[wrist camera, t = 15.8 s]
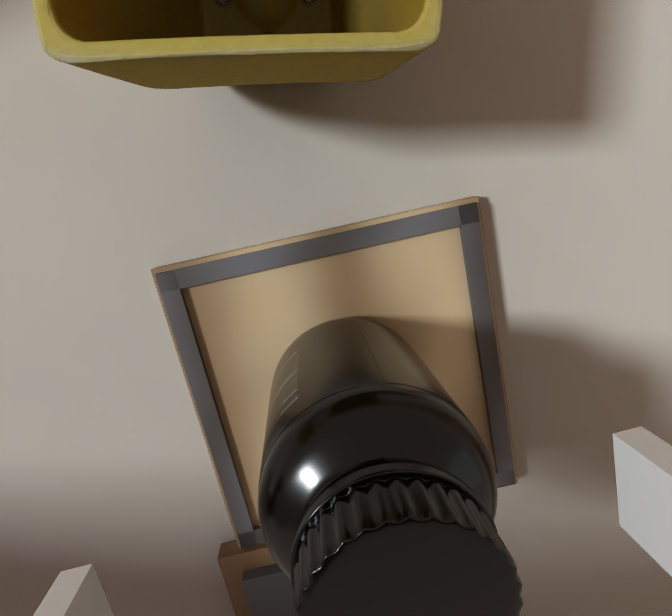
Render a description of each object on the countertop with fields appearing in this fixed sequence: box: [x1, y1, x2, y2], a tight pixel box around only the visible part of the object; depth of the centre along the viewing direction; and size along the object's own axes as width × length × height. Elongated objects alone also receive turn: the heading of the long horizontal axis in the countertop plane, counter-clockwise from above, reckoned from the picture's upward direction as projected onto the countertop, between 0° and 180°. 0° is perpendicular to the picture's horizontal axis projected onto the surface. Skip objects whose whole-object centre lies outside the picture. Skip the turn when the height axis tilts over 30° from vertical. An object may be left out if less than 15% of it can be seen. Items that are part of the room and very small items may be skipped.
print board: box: [151, 196, 518, 548], centre depth 21 cm, size 14×14×1 cm
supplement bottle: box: [258, 318, 523, 616], centre depth 15 cm, size 7×7×12 cm
